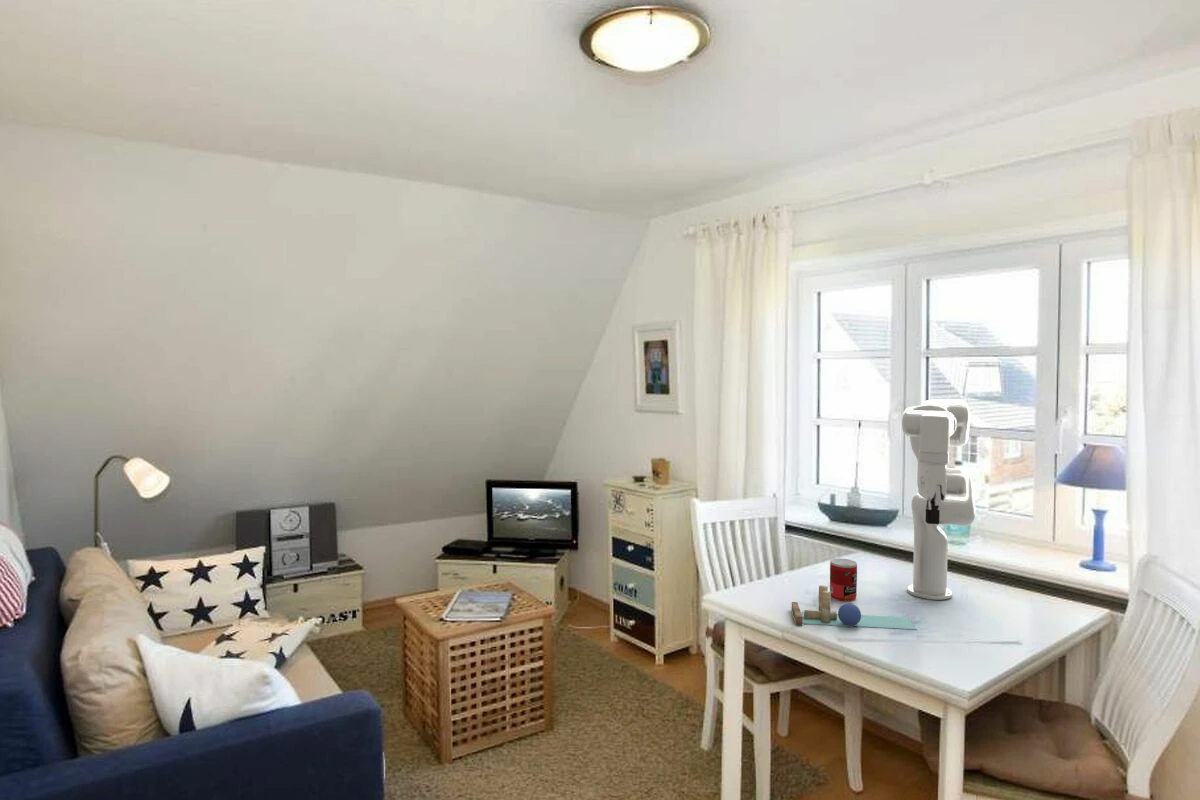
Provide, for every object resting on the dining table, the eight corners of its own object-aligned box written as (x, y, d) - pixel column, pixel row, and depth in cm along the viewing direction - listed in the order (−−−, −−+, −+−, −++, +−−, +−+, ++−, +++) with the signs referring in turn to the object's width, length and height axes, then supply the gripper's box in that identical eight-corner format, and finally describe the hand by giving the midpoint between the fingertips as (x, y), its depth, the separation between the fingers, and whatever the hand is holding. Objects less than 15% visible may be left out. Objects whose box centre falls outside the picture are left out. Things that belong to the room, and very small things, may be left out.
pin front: (835, 618, 203) (804, 617, 204) (835, 610, 202) (804, 609, 204) (836, 621, 200) (805, 620, 201) (836, 613, 200) (805, 611, 201)
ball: (834, 601, 198) (855, 596, 198) (834, 613, 201) (855, 608, 201) (843, 620, 193) (865, 614, 193) (843, 632, 197) (864, 627, 197)
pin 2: (820, 620, 201) (820, 590, 200) (829, 621, 200) (829, 591, 200) (821, 623, 198) (822, 593, 198) (830, 624, 198) (831, 594, 197)
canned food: (847, 603, 215) (848, 567, 214) (824, 596, 221) (824, 561, 220) (861, 597, 220) (862, 562, 219) (838, 591, 226) (838, 556, 225)
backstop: (791, 610, 209) (791, 601, 209) (797, 610, 209) (797, 602, 209) (796, 625, 197) (796, 616, 197) (802, 625, 197) (802, 616, 197)
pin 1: (817, 614, 206) (818, 585, 205) (826, 614, 205) (827, 585, 205) (819, 617, 203) (819, 587, 203) (827, 617, 203) (828, 588, 202)
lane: (798, 612, 207) (798, 611, 207) (908, 617, 203) (908, 617, 203) (802, 623, 198) (802, 623, 198) (917, 629, 194) (917, 629, 194)
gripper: (912, 454, 207) (910, 517, 208) (927, 461, 193) (925, 529, 194) (939, 454, 206) (938, 517, 207) (957, 462, 191) (955, 530, 193)
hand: (932, 523), depth 201 cm, fingers closed
